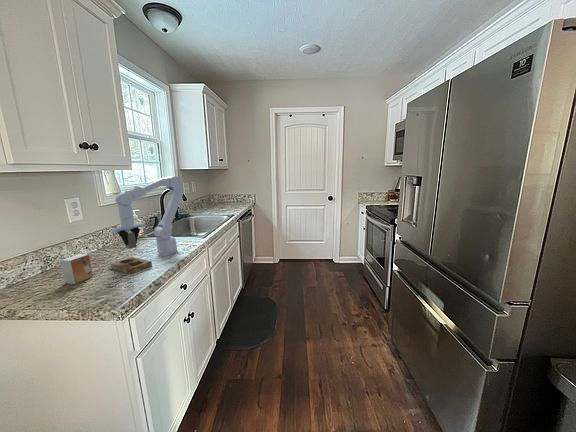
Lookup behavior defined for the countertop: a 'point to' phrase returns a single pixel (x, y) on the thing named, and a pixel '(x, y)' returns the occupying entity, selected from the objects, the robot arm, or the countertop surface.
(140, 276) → the countertop surface
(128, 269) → the divided box
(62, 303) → the countertop surface
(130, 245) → the plug
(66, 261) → the small box
